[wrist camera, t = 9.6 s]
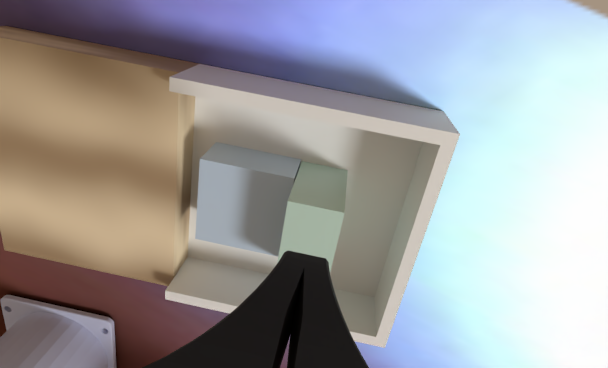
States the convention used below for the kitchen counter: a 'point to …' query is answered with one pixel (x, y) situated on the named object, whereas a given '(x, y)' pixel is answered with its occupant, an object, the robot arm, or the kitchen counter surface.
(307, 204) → the tile
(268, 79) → the box
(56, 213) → the oak plate
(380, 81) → the kitchen counter surface
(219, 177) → the tile
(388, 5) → the kitchen counter surface
